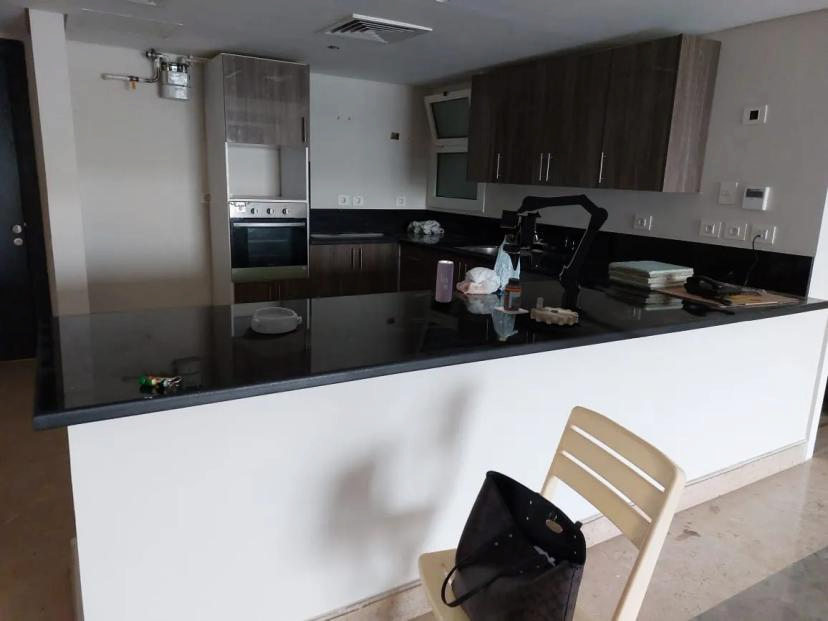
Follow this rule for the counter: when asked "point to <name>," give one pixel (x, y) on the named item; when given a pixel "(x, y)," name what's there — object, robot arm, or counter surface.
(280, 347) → the counter surface
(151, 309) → the counter surface
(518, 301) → the supplement bottle
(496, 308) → the pad
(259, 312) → the dish
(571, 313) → the sprocket
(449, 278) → the beverage can
